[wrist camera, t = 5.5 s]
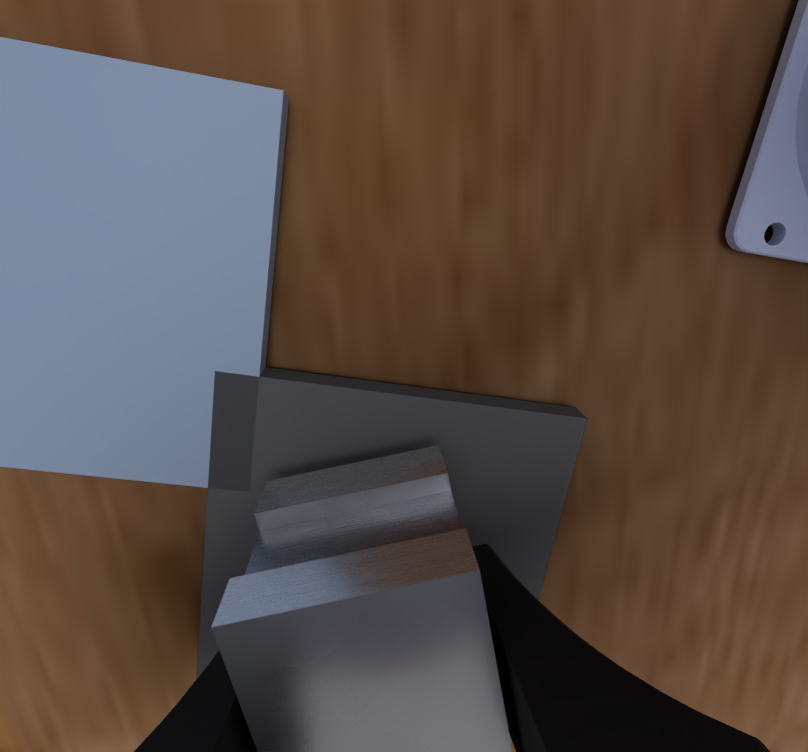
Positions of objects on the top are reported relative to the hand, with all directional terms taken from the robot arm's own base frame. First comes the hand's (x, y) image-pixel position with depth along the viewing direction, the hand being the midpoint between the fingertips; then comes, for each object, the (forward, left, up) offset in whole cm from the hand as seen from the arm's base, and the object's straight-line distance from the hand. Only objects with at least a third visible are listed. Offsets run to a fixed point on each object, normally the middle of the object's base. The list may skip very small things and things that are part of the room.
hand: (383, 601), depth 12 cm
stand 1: (+8, -6, -2) cm, 10 cm away
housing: (0, 0, -1) cm, 1 cm away
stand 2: (0, 0, -2) cm, 2 cm away
